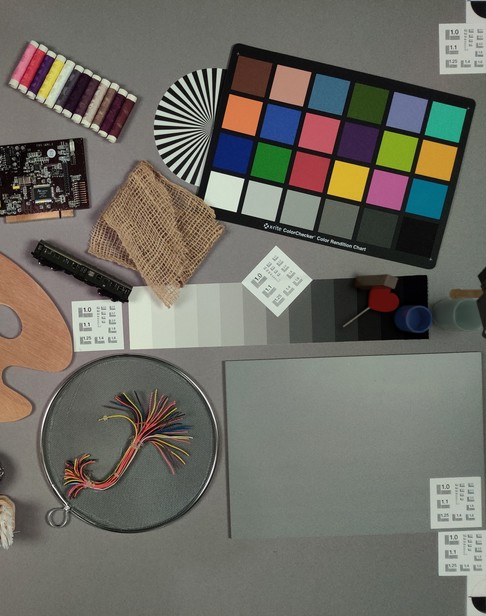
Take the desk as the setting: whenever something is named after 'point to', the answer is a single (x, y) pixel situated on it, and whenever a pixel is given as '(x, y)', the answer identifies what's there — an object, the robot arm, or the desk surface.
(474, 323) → the cup
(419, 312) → the bowl
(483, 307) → the robot arm
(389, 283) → the block
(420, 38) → the desk surface
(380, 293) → the lollipop
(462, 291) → the stick
